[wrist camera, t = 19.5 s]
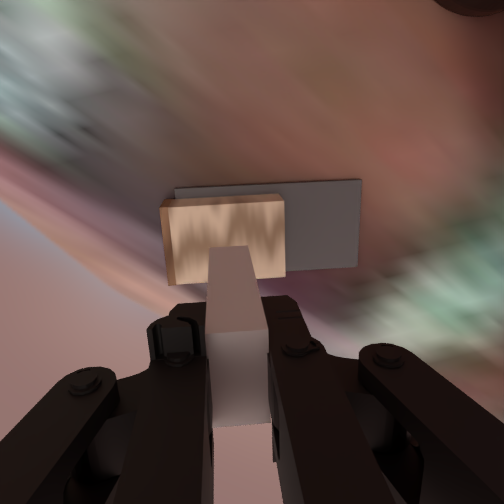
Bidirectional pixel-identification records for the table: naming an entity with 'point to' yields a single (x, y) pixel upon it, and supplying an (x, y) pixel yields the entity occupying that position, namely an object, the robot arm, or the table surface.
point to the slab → (222, 234)
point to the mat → (307, 219)
